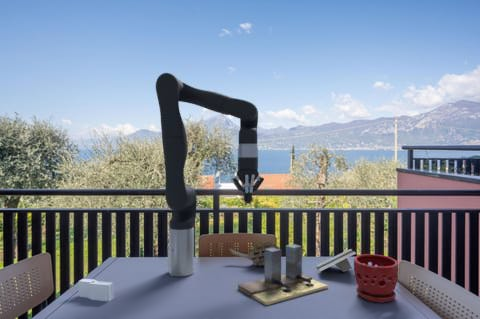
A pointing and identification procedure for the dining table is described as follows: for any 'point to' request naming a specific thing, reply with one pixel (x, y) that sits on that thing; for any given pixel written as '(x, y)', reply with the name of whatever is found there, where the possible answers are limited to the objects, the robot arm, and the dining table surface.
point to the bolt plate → (289, 292)
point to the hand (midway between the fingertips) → (247, 202)
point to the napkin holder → (96, 290)
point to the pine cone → (257, 252)
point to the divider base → (289, 278)
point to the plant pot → (376, 277)
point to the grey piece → (338, 261)
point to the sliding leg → (273, 266)
